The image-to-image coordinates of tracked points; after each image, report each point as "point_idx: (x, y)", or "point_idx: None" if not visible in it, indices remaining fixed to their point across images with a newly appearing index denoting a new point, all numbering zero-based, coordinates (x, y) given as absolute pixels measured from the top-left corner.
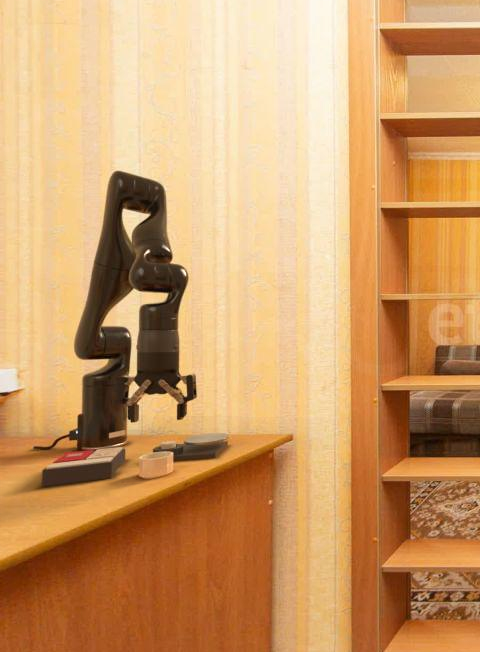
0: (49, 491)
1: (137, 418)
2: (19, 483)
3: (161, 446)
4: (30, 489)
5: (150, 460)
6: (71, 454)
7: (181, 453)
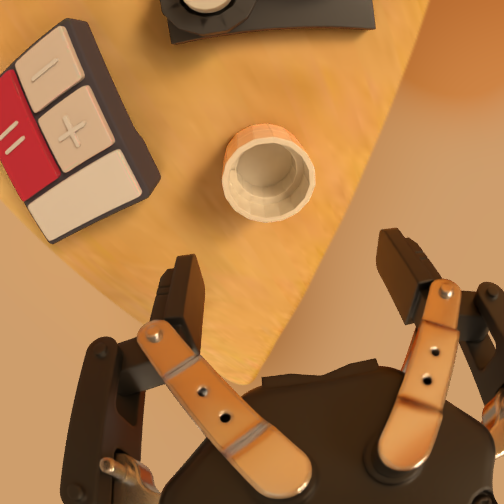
0: (98, 241)
1: (196, 272)
2: (9, 194)
3: (191, 7)
4: None
5: (272, 219)
6: (3, 136)
7: (261, 3)
